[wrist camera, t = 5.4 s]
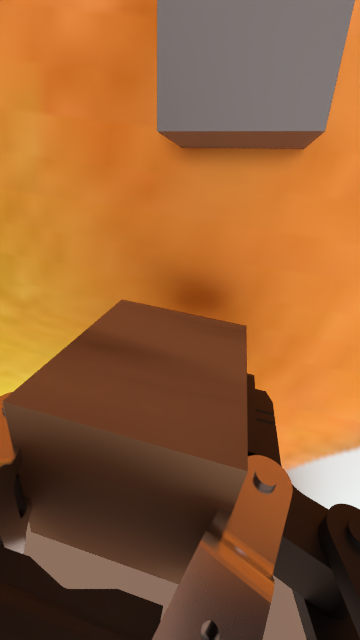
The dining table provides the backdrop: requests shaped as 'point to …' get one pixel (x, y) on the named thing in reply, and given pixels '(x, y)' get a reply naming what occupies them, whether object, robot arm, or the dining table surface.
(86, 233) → the dining table surface
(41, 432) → the walnut block
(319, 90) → the charcoal block
